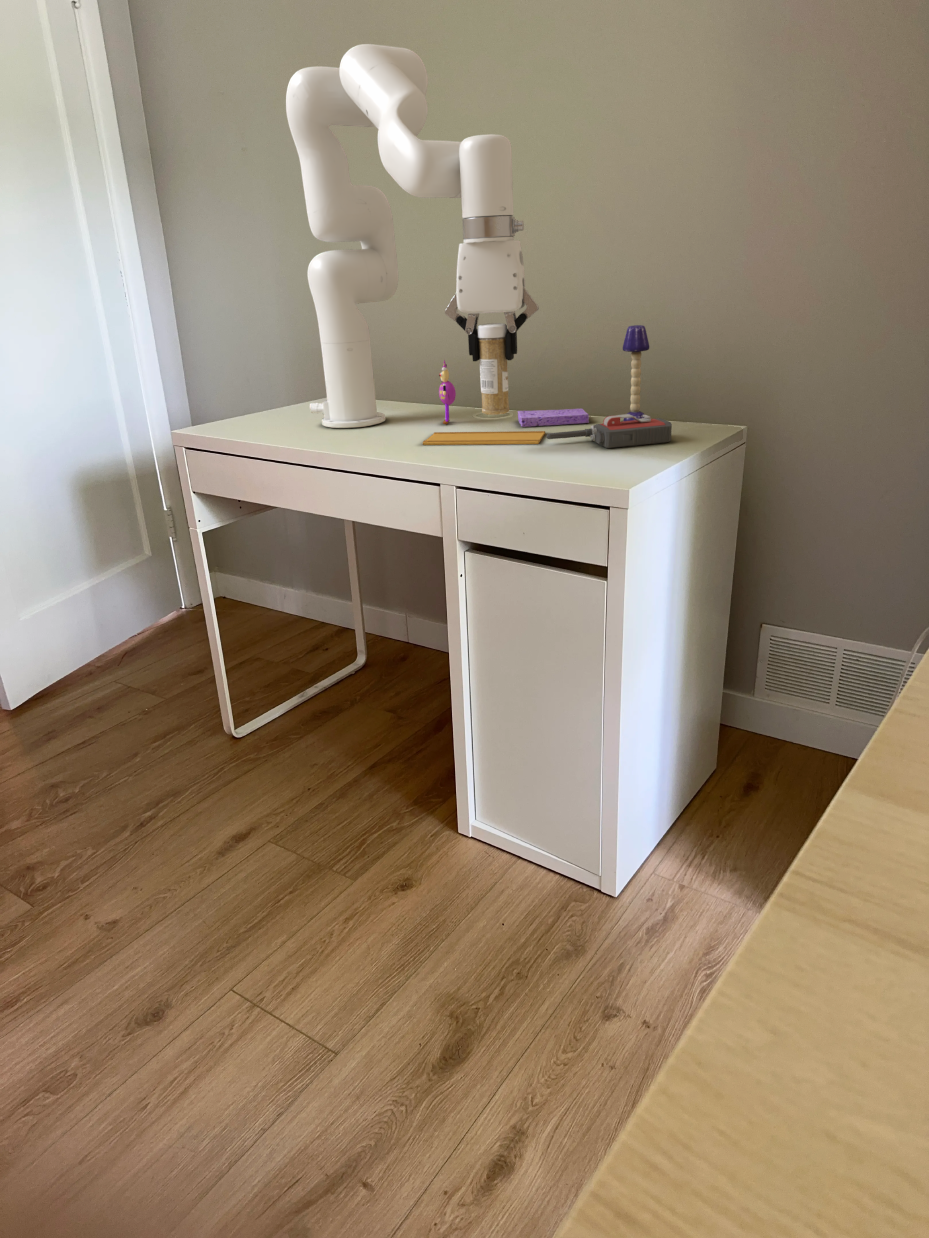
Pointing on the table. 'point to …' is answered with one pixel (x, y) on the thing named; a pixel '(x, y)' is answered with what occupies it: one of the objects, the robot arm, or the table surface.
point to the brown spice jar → (493, 368)
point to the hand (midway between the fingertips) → (493, 358)
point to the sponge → (552, 417)
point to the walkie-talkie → (624, 432)
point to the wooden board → (484, 438)
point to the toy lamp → (635, 365)
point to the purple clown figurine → (446, 391)
